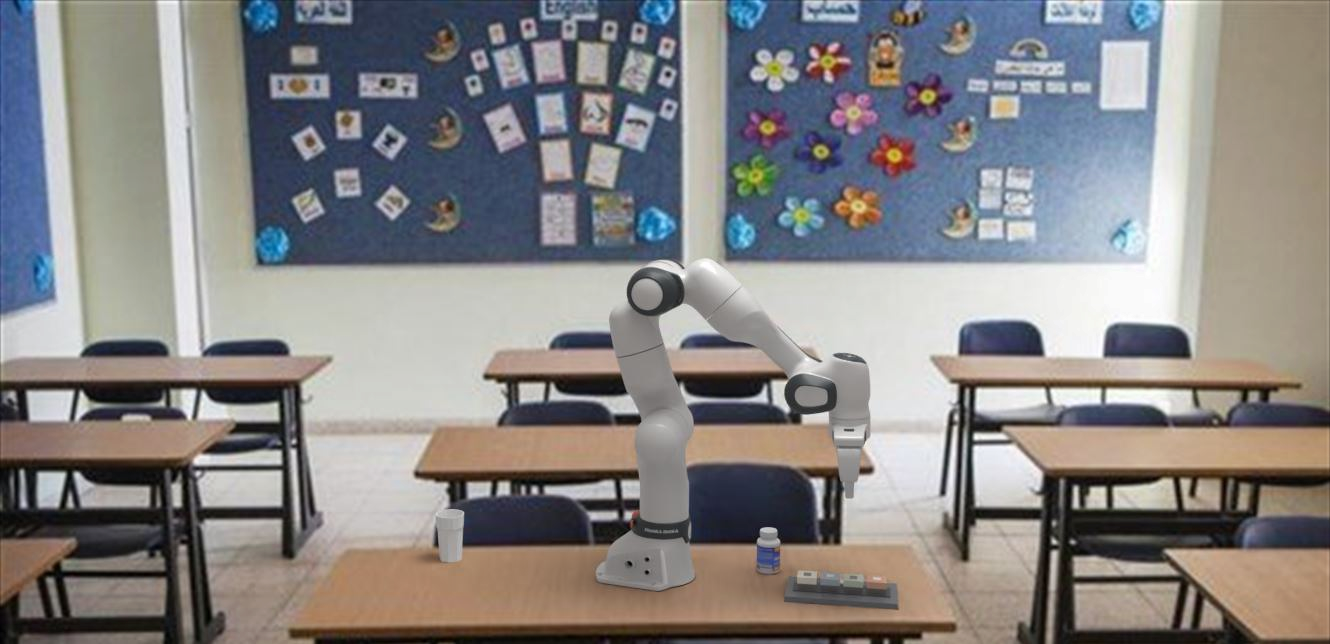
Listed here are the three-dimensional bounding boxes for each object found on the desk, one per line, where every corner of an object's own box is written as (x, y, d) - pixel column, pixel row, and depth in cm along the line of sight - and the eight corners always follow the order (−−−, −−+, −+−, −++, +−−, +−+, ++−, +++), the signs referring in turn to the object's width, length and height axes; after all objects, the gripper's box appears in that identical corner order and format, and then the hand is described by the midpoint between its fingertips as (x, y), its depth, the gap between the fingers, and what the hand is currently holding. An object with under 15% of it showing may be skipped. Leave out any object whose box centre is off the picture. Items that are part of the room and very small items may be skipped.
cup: (462, 563, 289) (461, 518, 287) (434, 563, 289) (432, 518, 288) (467, 553, 296) (466, 509, 294) (439, 553, 296) (438, 509, 294)
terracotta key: (866, 588, 269) (867, 581, 269) (866, 581, 273) (867, 574, 273) (886, 589, 268) (886, 582, 268) (886, 582, 272) (886, 575, 272)
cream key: (797, 583, 271) (797, 576, 271) (798, 576, 275) (798, 569, 275) (816, 584, 271) (816, 578, 270) (817, 577, 275) (817, 571, 274)
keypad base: (784, 601, 268) (784, 594, 268) (788, 581, 280) (788, 574, 280) (897, 609, 264) (897, 602, 264) (896, 588, 276) (896, 582, 276)
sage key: (843, 586, 270) (843, 579, 269) (843, 579, 274) (844, 572, 274) (863, 587, 269) (863, 581, 269) (863, 580, 273) (863, 574, 273)
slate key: (820, 584, 270) (820, 578, 270) (820, 577, 275) (821, 571, 274) (839, 586, 270) (839, 579, 270) (840, 579, 274) (840, 572, 274)
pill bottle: (778, 575, 283) (779, 534, 282) (754, 573, 285) (755, 532, 283) (781, 567, 289) (782, 527, 287) (757, 565, 290) (758, 525, 288)
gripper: (836, 417, 277) (836, 477, 280) (833, 440, 257) (833, 504, 260) (864, 417, 276) (864, 477, 278) (864, 440, 256) (864, 505, 259)
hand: (849, 491), depth 269 cm, fingers open, 8 cm apart
